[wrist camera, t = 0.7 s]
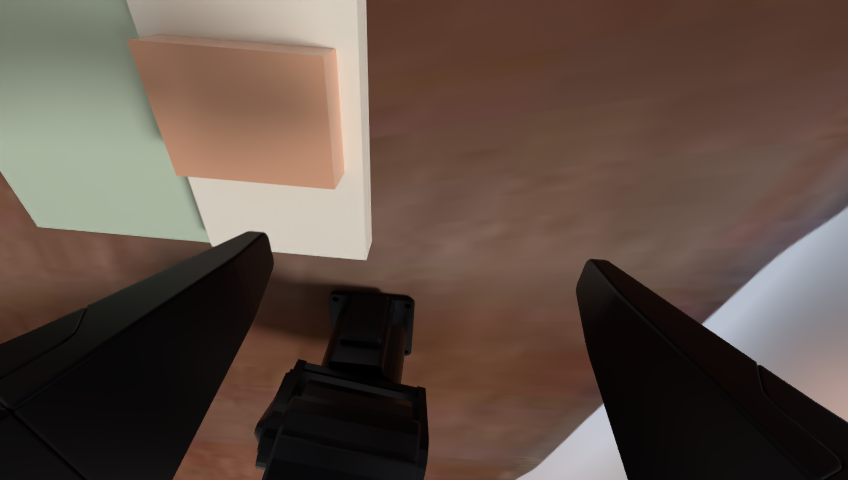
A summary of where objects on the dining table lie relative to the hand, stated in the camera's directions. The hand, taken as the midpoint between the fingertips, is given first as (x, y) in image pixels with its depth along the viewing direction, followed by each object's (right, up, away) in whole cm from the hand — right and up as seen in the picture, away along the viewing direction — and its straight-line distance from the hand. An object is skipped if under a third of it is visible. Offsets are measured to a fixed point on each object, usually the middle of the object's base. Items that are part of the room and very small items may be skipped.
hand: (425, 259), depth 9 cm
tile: (-8, +7, +9) cm, 14 cm away
